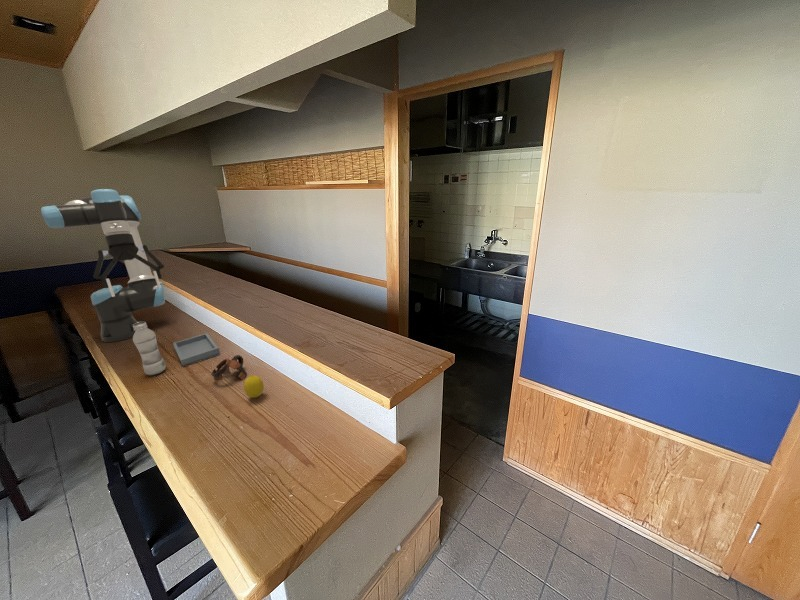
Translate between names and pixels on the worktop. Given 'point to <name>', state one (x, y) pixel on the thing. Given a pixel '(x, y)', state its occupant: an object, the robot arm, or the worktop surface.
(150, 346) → the plastic bottle
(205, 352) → the tray
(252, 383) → the lemon
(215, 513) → the worktop surface
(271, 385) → the worktop surface
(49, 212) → the robot arm
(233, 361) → the brown irregular piece
